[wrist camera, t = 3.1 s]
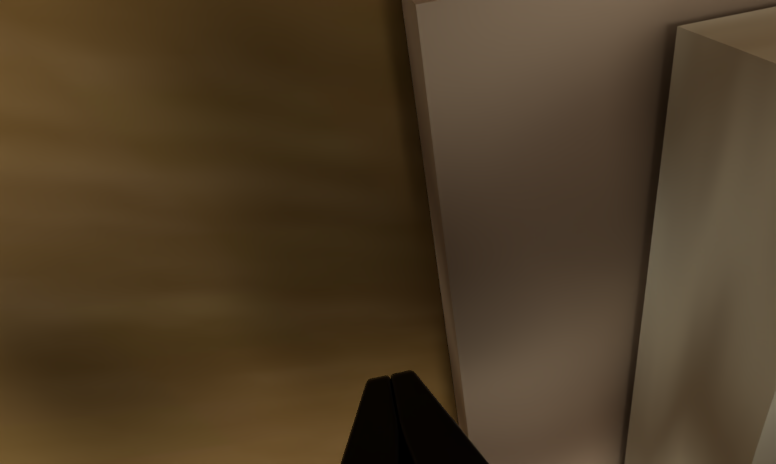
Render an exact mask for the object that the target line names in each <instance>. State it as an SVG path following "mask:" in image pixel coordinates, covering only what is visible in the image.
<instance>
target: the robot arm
mask: <svg viewBox="0 0 776 464" xmlns="http://www.w3.org/2000/svg"><path fill="white" fill-rule="evenodd" d="M341 464H489V463H488V462H487V460H486V459H485V458H484V457H483V455H482V454H481V453H480V452H479V451H478V449H477V448H476V447H475V446H474V444H473V443H472V442H471V441H470V440H469V438H468V437H467V436H466V435H465V433H464V432H463V431H462V430H461V429H460V427H459V426H458V425H457V424H456V422H455V421H454V420H453V419H452V418H451V416H450V415H449V414H448V413H447V411H446V410H445V409H444V408H443V407H442V405H441V404H440V403H439V402H438V400H437V399H436V398H435V397H434V396H433V394H432V393H431V392H430V391H429V389H428V388H427V387H426V386H425V385H424V383H423V382H422V381H421V380H420V378H419V377H418V376H417V375H416V374H415V373H414V372H413V371H411V370H409V371H404V372H400V373H395V374H393V375H392V376H391V379H390V377H389V376H381V377H377V378H372V379H369V380H368V381H367V382H366V385H365V388H364V391H363V394H362V397H361V401H360V404H359V407H358V410H357V413H356V416H355V420H354V423H353V426H352V429H351V432H350V435H349V439H348V442H347V445H346V448H345V451H344V454H343V458H342V461H341Z"/></svg>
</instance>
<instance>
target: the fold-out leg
mask: <svg viewBox="0 0 776 464" xmlns="http://www.w3.org/2000/svg"><path fill="white" fill-rule="evenodd" d="M624 464H776V7H771V8H766V9H761V10H756V11H751V12H746V13H741V14H736V15H731V16H726V17H721V18H716V19H711V20H706V21H701V22H696V23H691V24H686V25H681V26H677V33H676V41H675V50H674V58H673V66H672V74H671V83H670V91H669V99H668V108H667V116H666V124H665V132H664V141H663V149H662V157H661V165H660V174H659V182H658V190H657V198H656V207H655V215H654V223H653V231H652V240H651V248H650V256H649V265H648V273H647V281H646V289H645V298H644V306H643V314H642V322H641V331H640V339H639V347H638V355H637V364H636V372H635V380H634V389H633V397H632V405H631V413H630V422H629V430H628V438H627V446H626V455H625V463H624Z"/></svg>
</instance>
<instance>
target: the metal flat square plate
mask: <svg viewBox="0 0 776 464" xmlns="http://www.w3.org/2000/svg"><path fill="white" fill-rule="evenodd" d="M771 7H776V0H402V8H403V15H404V23H405V30H406V37H407V45H408V52H409V60H410V67H411V75H412V82H413V89H414V97H415V104H416V112H417V119H418V127H419V134H420V141H421V149H422V156H423V164H424V171H425V178H426V186H427V193H428V201H429V208H430V216H431V223H432V230H433V238H434V245H435V253H436V260H437V268H438V275H439V282H440V290H441V297H442V305H443V312H444V319H445V327H446V334H447V342H448V349H449V357H450V364H451V371H452V379H453V386H454V394H455V401H456V409H457V416H458V423H459V427H460V429H461V430H462V431H463V432H464V433H465V435H466V436H467V437H468V438H469V440H470V441H471V442H472V443H473V444H474V446H475V447H476V448H477V449H478V451H479V452H480V453H481V454H482V455H483V457H484V458H485V459H486V460H487V462H488V463H489V464H624V463H625V455H626V446H627V438H628V430H629V422H630V413H631V405H632V397H633V389H634V380H635V372H636V364H637V355H638V347H639V339H640V331H641V322H642V314H643V306H644V298H645V289H646V281H647V273H648V265H649V256H650V248H651V240H652V231H653V223H654V215H655V207H656V198H657V190H658V182H659V174H660V165H661V157H662V149H663V141H664V132H665V124H666V116H667V108H668V99H669V91H670V83H671V74H672V66H673V58H674V50H675V41H676V33H677V26H681V25H686V24H691V23H696V22H701V21H706V20H711V19H716V18H721V17H726V16H731V15H736V14H741V13H746V12H751V11H756V10H761V9H766V8H771Z"/></svg>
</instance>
